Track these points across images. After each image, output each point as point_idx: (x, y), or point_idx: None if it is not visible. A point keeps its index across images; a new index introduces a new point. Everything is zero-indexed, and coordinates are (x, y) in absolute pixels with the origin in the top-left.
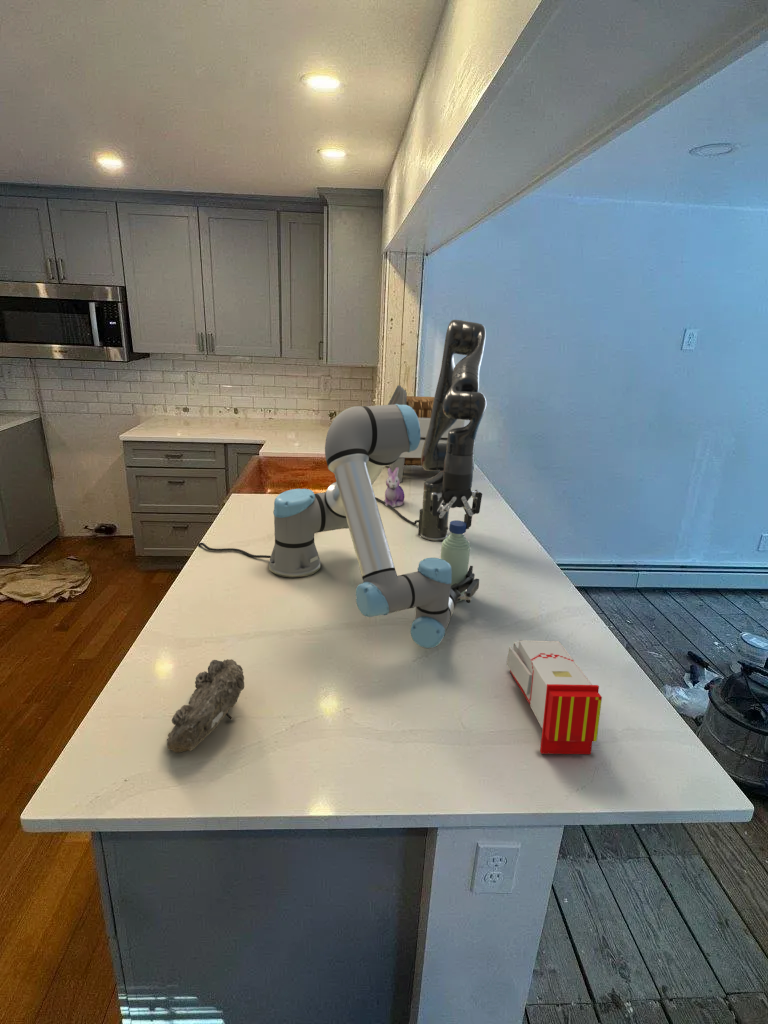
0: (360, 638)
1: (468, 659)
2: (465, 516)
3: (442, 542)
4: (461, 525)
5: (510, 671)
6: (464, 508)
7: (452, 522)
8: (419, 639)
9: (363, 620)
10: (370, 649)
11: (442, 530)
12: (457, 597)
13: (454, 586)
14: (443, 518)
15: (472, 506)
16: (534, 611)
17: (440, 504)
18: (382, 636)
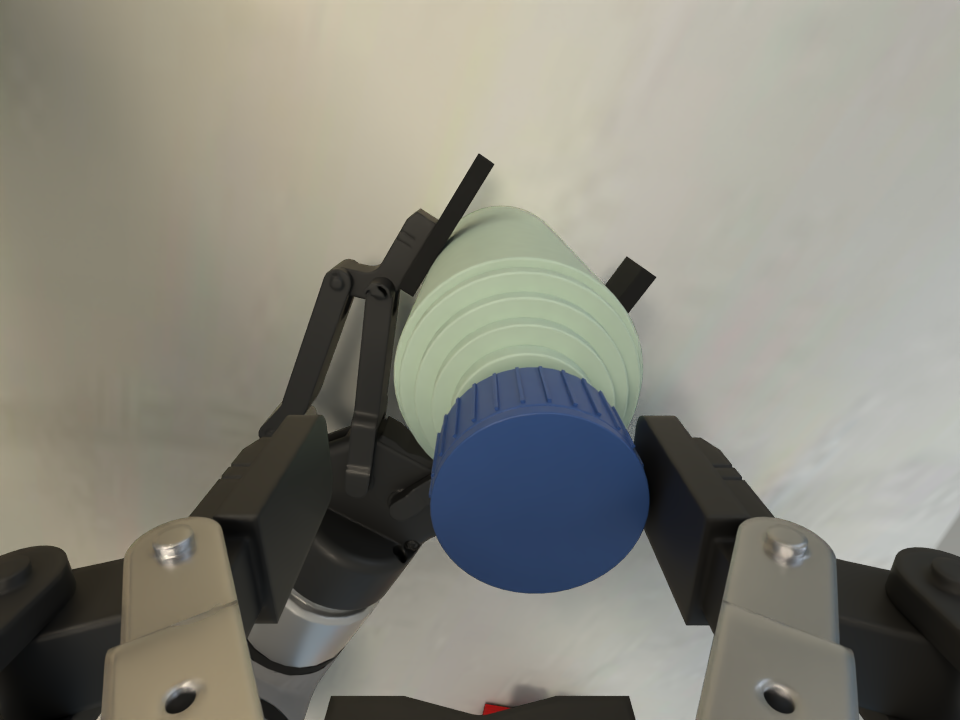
0: (68, 501)
1: (397, 643)
2: (690, 532)
3: (413, 316)
4: (548, 576)
5: (484, 711)
6: (701, 694)
7: (473, 476)
8: None
9: (74, 399)
10: (104, 558)
11: (328, 497)
12: (419, 547)
13: (428, 499)
14: (272, 623)
15: (951, 649)
16: (776, 462)
17: (108, 683)
18: (147, 504)
